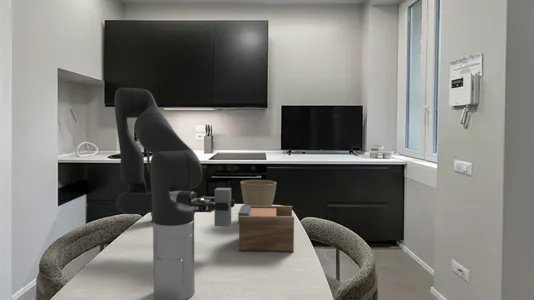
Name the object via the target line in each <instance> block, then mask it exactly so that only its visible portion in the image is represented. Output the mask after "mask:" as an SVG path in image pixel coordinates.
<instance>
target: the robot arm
mask: <svg viewBox="0 0 534 300" xmlns="http://www.w3.org/2000/svg"><path fill="white" fill-rule="evenodd" d="M113 100H114V102H113V103H114V114H115V122H116V131H117V132H116V133H117V137H118V139H117V140H118V145H119V146H118V147H119V155H120V156H119V157H120V180H121V182H122V183H124V184H127V191H125V192H122V193H121V194H120V195H118V196H117V198H116V200H115V205H116V208H117V210H118V211H119V212H121V213H123V214H125V215H139V214H141V215H143V214H149V213H150V214H151V213H153V223H152V241H153V242H152V249H153V251H152V252H153V253H152V254H153V256H152V257H153V259H152V263H153V264H152V265H153V267H152V268H153V273H152V274H153V296H154V300H187V299H189V298H191V297H192V296H193V295H194V294H195V279H196V278H195V276H196V275H195V214H196V213H212V212H215V211H216V210H218V211H228V210H229V204H228V203H216V202H215V196H209V195H208V196H201V197H198V195H197V193H196V192H195V191H193V190H194V189H196V188H197V187H199V186H200V184H201V183H202V180H203V168H202V167H203V166H202V163H201V161H200V159H199V157H198V155H197V154H196V152H195V151H194V150H193V149H192V148H191V147H190V146H188V145H187V144H186V143H185V141H184V140H182V139H181V138H180V136H179V135H178V134H177V133H176V131H175V130H174V128H173V127H172V126H171V124H170V122H169V121H168V119H167V118H166V117H165V116H164V114H163V113H162V111H161V110H160V109H159V107H158V105H157V103H156V100H155V98H154V96H153V94H152V93H151V91H149V90H148V89H144V88H136V87H119V88H116V91H115V94H114V99H113ZM130 118H131V119H136V120H135V122H134V128H133V130H134V134H135V136H136V138H137V140H138V142H139V144H140V145H141V146H142V147H143V149H145V150H146V152H147V151H149V153H151V154H152V153H153V155H152V156H151V159H150V173H149V175H150V178H149V179H150V188H151V191H148V188H147V184H146V180H145V177H144V175H145V158H144V153H143V151H142V149H141V147H140V145H139V144H138V143H137V142H136V140H135V138H134V137H133V135H132V133H131V130H130V129H129V126H128V125H129V124H128V119H130ZM190 190H191V191H190ZM234 207H235V200H234V199H231V208H234Z"/></svg>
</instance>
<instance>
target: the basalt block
mask: <svg viewBox="0 0 534 300" xmlns="http://www.w3.org/2000/svg"><path fill="white" fill-rule="evenodd" d="M214 197H215V202H216V203H228V204H229V210H228V211H218V210H216V211H214V227H230V226H231V225H232V207H231V200H232V187H216V188H215V189H214Z"/></svg>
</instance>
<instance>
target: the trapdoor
mask: <svg viewBox="0 0 534 300" xmlns="http://www.w3.org/2000/svg"><path fill="white" fill-rule="evenodd" d="M239 216H276V208H251V205H244V204H241V207H240V208H239V211H238V215H237V218H238V219H237V220H238V222H237V224H239Z"/></svg>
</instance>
